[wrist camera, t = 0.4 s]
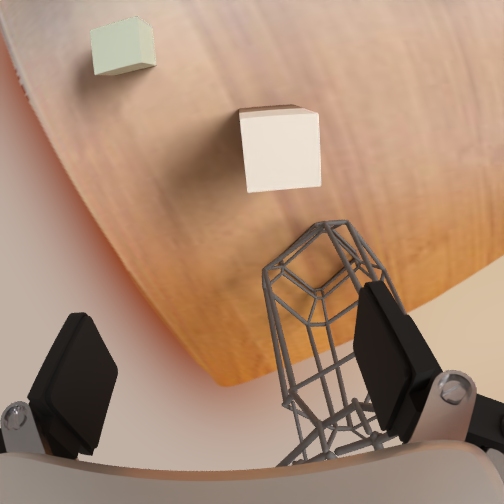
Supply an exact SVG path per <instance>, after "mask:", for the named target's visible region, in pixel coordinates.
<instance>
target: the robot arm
mask: <svg viewBox="0 0 504 504" xmlns="http://www.w3.org/2000/svg"><path fill="white" fill-rule="evenodd" d="M353 350H354V355H355V357H356V360H357V363H358V365H359V368H360V371H361V373H362V376H363V379H364V382H365V385H366V388H367V390H368V393H369V396H370V399H371V402H372V405H373V408H374V411H375V414H376V417H377V420H378V422H379V425H380V428H381V430H382V431H385V430H386V431H387V434H388V437H389V438H390V437H393V436H397V435H398V436H399V439H400V441H402V442H403V443H402V445H398V446H394V447H389V448H384V449H379V450H375V451H371V452H367V453H362V454H357V455H353V456H348V457H342V458H336V459H330V460H325V461H319V462H313V463H306V464H299V465H292V466H283V467H274V468H264V469H251V470H235V471H234V470H233V471H168V470H150V469H138V468H127V467H119V466H110V465H103V464H96V463H90V462H84V461H79V460H78V457H77V456H78V453H80V454H84V455H91V456H92V455H93V451H94V449H95V448H97V446H98V443H99V439H100V435H101V431H102V428H103V424H104V420H105V417H106V413H107V410H108V406H109V403H110V399H111V395H112V392H113V389H114V385H115V382H116V379H117V375H118V369H117V366H116V364H115V362H114V360H113V358H112V357H111V355H110V353H109V351H108V349H107V347H106V345H105V344H104V342H103V340H102V338H101V336H100V334H99V332H98V330H97V328H96V326H95V324H94V322H93V320H92V318H91V317H90V316H88V315H87V314H86V313H84V312H81V313H71V314H70V315H69V316H68V318H67V320H66V321H65V323H64V325H63V327H62V329H61V330H60V332H59V334H58V336H57V338H56V340H55V341H54V343H53V345H52V347H51V349H50V351H49V353H48V355H47V357H46V359H45V361H44V363H43V365H42V367H41V369H40V371H39V373H38V375H37V377H36V379H35V381H34V383H33V386H32V388H31V390H30V392H29V394H28V396H27V398H28V399H29V400H30V402H29V405H28V404H27V403H25V402H22V401H18V402H15V403H12V404H11V405H9V406H8V407H7V408H6V409H5V410H4V412H3V414H2V416H1V420H0V421H1V428H0V504H504V403H502V402H499V401H496V400H493V399H491V398H487V397H485V396H482V395H479V394H477V389H476V386H475V383H474V382H473V380H472V378H471V377H469V376H468V375H467V374H465V373H463V372H461V371H456V370H448V371H445V372H443V371H442V369H441V367H440V366H439V364H438V362H437V360H436V358H435V357H434V355H433V353H432V351H431V350H430V348H429V346H428V345H427V343H426V341H425V339H424V338H423V336H422V334H421V333H420V331H419V330H418V328H417V326H416V324H415V323H414V321H413V320H412V318H411V317H410V316H409V315H407V314H406V315H404V314H403V312H402V311H401V309H400V307H399V306H398V304H397V303H396V301H395V299H394V298H393V296H392V294H391V293H390V291H389V290H388V288H387V287H386V285H385V283H384V282H383V281H382V280H379V281H373V282H366V283H365V285H364V287H362V288H360V290H359V300H358V309H357V318H356V326H355V334H354V341H353Z"/></svg>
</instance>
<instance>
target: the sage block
mask: <svg viewBox="0 0 504 504" xmlns="http://www.w3.org/2000/svg"><path fill="white" fill-rule="evenodd" d="M90 36H91V47H92V57H93V66H94V74H95V75H119V74H123V73H127V72H131V71H135V70H139V69H143V68H148V67H152V66H157V65H156V57H155V48H154V39H153V29H152V26H151V25H150V24H148V23H147V22H145V21H144V20H142V19H141V18H139V17H138V16H136V17H132V18H128V19H125V20H121V21H118V22H115V23H111V24H108V25H105V26H102V27H99V28H96V29H93V30H90Z"/></svg>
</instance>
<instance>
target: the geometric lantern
mask: <svg viewBox="0 0 504 504" xmlns="http://www.w3.org/2000/svg"><path fill="white" fill-rule="evenodd" d="M318 225H319V226H318ZM331 225H334V226H333V227H331ZM341 225H346V226H347V228H348V230H349V232H350V234H351V236H352V238H353V240H354V242H355V244H356V246H357V248H358V250H359V252H360V255H361V257H362V259H363V261H361V260H360V258H359V256H358V255H357V253H356V250H355V249H354V248H353V247H352V246H351V245H350V244H349V243H348V242H347V241H345V240H344V239H343V238H342V237H341V236H340V235H339V234H338V233H337V232H336V231H335V230H334V229H335V228H337V227H339V226H341ZM314 228H315V229H314ZM324 228H325V230H323V229H324ZM313 229H314V230H313ZM312 230H313V231H312ZM316 233H317V234H316ZM322 233H327V234H328V236H329V237H330V239H331V241H332V243H333V245H334V247H335V249H336V251H337V253H338V255H339V257H340V258H341V260H342V262H343V264H344V266H345V267H344V268H343V269H342V270H341V271H340V272H339V273H338V274H337V275H335V276H334V277H333V278H332V279H331V280H330V281H329V282H327V283H326V284H325V285H324V286H323V287H322V288H318V289H313V288H311V287H310V286H309V285H308V284H306V283H305V282H304V281H303V280H301V279H300V278H299V277H298V276H296V275H295V274H294V273H293V272H291V271H290V270H289V269H288V268H286V267H285V266H286V265H287V264H288V263H290V262H291V261H292V260H293V259H294V258H295V257H296V256H297V255H298V254H300V253H301V252H302V251H303V250H304V249H305V248H306V247H307V246H308V245H309V244H311V243H312V242H313V241H314V240H315V239H316V238H317V237H318V236H319V235H320V234H322ZM333 233H334V234H335V235H336V236H337V237H338V238H340V239H341V240H342V241H343V242H344V243H345V244H346V245H347V246H348V247H349V248H350V249H351V250H352V251H353V252H354V254H353V253H352V252H351V251H350V250H349V249H348V248H347V247H346V246H345V245H344V244H343V243H342V242H341V241H340V240H339V239H338V238H337V237H335V236H334V234H333ZM315 234H316V235H315ZM314 235H315V236H314ZM312 236H314V237H313V238H312V239H310V238H311V237H312ZM309 239H310V240H309ZM307 240H309V241H308V242H307V243H306V244H305V245H304V246H303V247H302V248H301V249H300V250H298V251H297V252H296V253H295V254H294V255H293V256H292V257H291V258H290V259H288V260H287V261H286V262H285V263H283V258H285V257H286V256H287V255H289V254H290V253H291V252H293V251H294V250H295V249H297V248H298V247H299V246H301V245H302V244H303V243H305V242H306V241H307ZM339 244H340V245H341V246H342V247H343V248H344V249H345V250H346V251H347V252H348V253H349V254H350V255H351V256H353V257H354V259H353V260H352V261H351V262H350V263H349V262H348V260H347V258H346V256H345V254H344V252H343V250H342V249H341V247H340V245H339ZM361 244H362V245H363V247H364V248H365V249H366V251H367V252H368V253H369V254H370V256H371V257H372V258H373V260H374V261H375V262H376V264H377V265H378V266H377V265H374V264H371V263H370V261H369V259H368V257H367V255H366V253H365V251H364V249H363V247H362V245H361ZM279 261H280V266H274V265H275V264H277V263H278V262H279ZM357 261H358V262H357ZM354 262H355V264H356V268H355V269H354V270H353V269H352V267H351V265H352V264H353V263H354ZM361 264H364V265H366V268H367V270H368V272H369V273H368V272H367V271H365V270H364V269H363V268H362V267H361V266H360V265H361ZM373 267H374V268H377V269H381V270H382V274H381V278H380V280H382V281H383V282H384V278H386V281H387V283H388V285H389V287H390V289H391V291H392V293H393V296H394V298H395V300H396V302H397V304H398V306H399V307H400V309H401V311H402V312H403V314H404V315H406V314H407V313H406V311H405V309H404V306H403V304H402V302H401V300H400V298H399V296H398V294H397V292H396V290H395V287H394V285H393V283H392V281H391V279H390V277H389V275H388V273H387V271H386V269H385V268H384V266H383V265H382V263H381V262H380V261H379V259H378V258H377V257H376V255H375V254H374V253H373V251H372V250H371V249H370V247H369V246H368V245H367V243H366V242H365V241H364V240H363V238H362V237H361V236H360V234H359V233H358V232H357V230H356V229H355V228H354V227H353V225H352V224H351V223H350V222H349V221H348V220H334V221H322V222H318V223H315V224H314V225H313V226H312V227H311V228H310V229H309V230H308V231H307V232H306V233H304V234H303V235H302V236H301V237H300V238H299V239H298V240H297V241H296V242H295V243H294V244H293V245H292V246H291V247H290V248H289V249H288V250H286V251H285V252H284V253H283V254H281V255H280V256H279V257H277V258H276V259H275V260H273V261H272V262H271V263H269V264H268V265H267V266H265V267H264V268H263V269H262V287H263V292H264V297H265V302H266V308H267V313H268V319H269V325H270V330H271V336H272V341H273V347H274V353H275V358H276V364H277V369H278V375H279V380H280V386H281V392H282V397H283V403H282V406H283V407H285V408H287V409H289V410H291V411H293V413H294V417H295V422H296V426H297V430H298V435H299V439H300V444H299V445H298V446H297V447H296V448H295V449H294V450H293V451H292V452H291V453H290V454H289V455H288V456H287V457H286V458H285V459H283V460H282V461H281V462H280V463H279V464H278V465H277V466H276V467H283V466H288V465H289V464H290V463H291V462H292V461H293V460H294V459H295V458H296V457H297V456H298V455H299V454H301V453H303V457H304V460H302V459H300V460H298V461H297V462H296V461H293V462H292V465H299V464H306V463H313V462H319V461H324V460H326V459H327V460H330V459H336V458H337V457H336V456H335V454H336V455H338V456H339V455H342V454H346V453H349V452H352V451H355V450H358V449H361V448H364V447H367V446H370V445H372V446H373V447H374V450H379V449H384V447H383V444H382V443H384V442H386V441H388V440H391V439H393V438H395V437H397V436H398V435H397V436H393V437H390V438H389V437H388V434H387V432H386V433H384V434H382V433H378V432H376V431H374V432H372V430H371V427H370V425H369V422H371V421H373V420H375V419H377V417H376V415H375V416H373V417H371V418H369V419H368V420H367V419H366V417H365V415H364V413H363V411H368V412H375V411H374V408H373V405H372V403H368V402H369V400H370V396H369V393H368V394H367V396H366V398H365V401H364V403H363V402H358V400H357V398H353V399H352V403H351V404H350V405H348V402H347V397H346V393H345V388H344V384H343V381H342V376H341V371H340V367H339V366H340V365H342V364H344V363H345V362H347V361H349V360H350V359H352V358H353V357H355V355H354V352H353V353H351V354H349V355H348V356H346V357H344V358H343V359H341V360H339V361H338V359H337V355H336V351H335V347H334V343H333V339H332V335H331V330H330V326H329V324H331V323H332V322H334V321H335V320H336V319H338V318H339V317H341V316H342V315H344V314H345V313H347V312H348V311H350V310H351V309H352V308H354V307H355V306H357V305H358V300H359V299H358V300H357V301H356V302H354V303H353V304H351V305H350V306H348V307H347V308H346V309H344V310H343V311H341V312H340V313H338V314H337V315H336V316H334V317H333V318H331V319H330V320H328V317H327V312H326V307H325V302H324V299H325V298H326V297H327V296H328V295H329V294H330V293H332V292H333V291H334V290H335V289H336V288H337V287H339V286H340V285H341V284H342V283H343V282H344V281H346V280H347V279H348V278H349V277H350V278H351V280H352V283H353V285H354V287H355V289H356V291H357V293H358V295H359V290H360V288H362V287H361V285H360V283H359V281H358V279H357V277H356V275H355V272H356V271H357V270H358V269H360V270H361V271H362V272H364V273H365V274H366V275H367V276H368V277H370V278H371V279H372V281H379V280H378V278H377V276H376V274H375V272H374V269H373ZM279 268H281V273H279V274H278V275H277V276H276V277H275V278H274V279H273V280H272V281H270V280H269V276H268V272H267V270H272V269H279ZM284 270H286V271H287V272H288V273H289V274H291V275H292V276H293V277H295V278H296V279H297V280H298V281H300V282H301V283H302V284H303V285H305V286H306V287H307V288H309V289H310V290H311V291H312V292H313V293H314V294H312V293H311V292H310V291H308V290H307V289H306V288H304V287H303V286H302V285H300V284H299V283H298V282H296V281H295V280H293V279H292V278H291V277H289V276H288V275H287V274H285V273H284ZM345 270H347V272H348V275H347V276H346V277H345V278H344V279H343V280H341V281H340V282H339V283H338V284H337V285H336V286H335V287H333V288H332V289H331V290H330V291H329V292H328V293H326V294H325V295H324V292H323V289H324V288H326V287H327V286H328V285H329V284H330V283H331V282H332V281H334V280H335V279H336V278H337V277H338V276H339V275H340V274H342V273H343V272H344V271H345ZM282 275H283V276H285V277H286V278H287V279H289V280H290V281H292V282H293V283H294V284H296V285H297V286H298V287H300V288H301V289H302V290H304V291H305V292H307V293H308V294H309V295H311V296H312V297H313V298H315V299H314V303H313V306H312V309H311V312H310V315H309V318H308V321H306V320H305V319H303V318H302V317H301V316H300V315H299V314H298V313H296V312H295V311H294V310H293V309H292V308H291V307H289V306H288V305H287V304H286V303H285V302H284V301H282V300H281V299H280V298H279V297H278V296H276V295H275V294H274V293H273V291H272V287H271V284H273V283H274V282H275V281H276V280H277V279H278V278H279V277H280V276H282ZM316 291H321V294H322V297H317V294H316ZM317 299H321V300H322V305H323V310H324V315H325V320H326V322H323V323H310V321H311V318H312V314H313V311H314V308H315V305H316V302H317ZM275 300H276V301H277V302H278V303H279V304H281V305H282V306H283V307H284V308H285V309H287V310H288V311H289V312H290V313H291V314H293V315H294V316H295V317H296V318H297V319H299V320H300V321H301V322H302V323H303V324H305V325H306V328H307V332H308V335H309V339H310V343H311V346H312V350H313V354H314V357H315V361H316V365H317V368H318V372H319V373H317V374H315V375H314V376H312V377H310V378H308V379H306V380H305V381H303V382H301V383H299V384H297V385H296V383H295V379H294V375H293V371H292V366H291V362H290V358H289V354H288V350H287V346H286V342H285V338H284V334H283V330H282V327H281V323H280V319H279V315H278V311H277V307H276V303H275ZM272 313H273V314H272ZM273 317H274V319H273ZM274 321H275V324H274ZM275 326H276V329H275ZM318 326H326V330H327V335H328V339H329V343H330V348H331V352H332V356H333V360H334V364H333V365H331V366H329V367H328V368H326V369H324V370H322V366H321V363H320V359H319V355H318V352H317V349H316V345H315V342H314V338H313V335H312V332H311V328H310V327H318ZM276 330H277V334H278V338H279V343H280V347H281V351H282V355H283V360H284V364H285V368H286V372H287V377H288V381H289V385H290V389H289V390H288V391H287V385H286V380H285V375H284V370H283V365H282V360H281V355H280V349H279V344H278V339H277V334H276ZM334 369H336V374H337V378H338V383H339V387H340V392H341V396H342V401H343V406H344V408H343V409H342V410H340V411H339V412H337V413H334V409H333V405H332V401H331V398H330V394H329V391H328V387H327V383H326V380H325V376H324V375H325V374H327V373H328V372H330V371H332V370H334ZM318 378H320V379H321V383H322V387H323V391H324V394H325V398H326V402H327V406H328V410H329V413H330V417H329V418H327V419H326V420H324V421H320V420H318V418H317V417H316V416H315V415H314V414H313V412H312V411H311V410H310V409H309V407H308V406H307V405H306V404H305V403H304V401H303V400H302V399H301V398H300V397H299V395H298V394H297V389H299V388H301V387H303V386H305V385H307V384H308V383H310V382H312V381H314V380H316V379H318ZM288 392H289V395H288ZM293 399H294V400H295V402H296V403H297V404H298V405H299V407H300V408H301V409H302V411H303V412H302V411H300V410H298V409H296V406H295V402H294V401H292V400H293ZM290 403H291V404H292V406H290V405H289V404H290ZM355 410H356V412H357V414H358V416H359V419H360V421H361V423H360V424H358V425H356V426H354V427H353V424H352V420H351V415H350V413H352V412H353V411H355ZM297 414H299V415H301V416H303V417H305V418H307V419H309V420H310V421H311V422H312V424H313V425H314V426H315V427H316V428H315V429H314V430H313V431H312V432H311V433H310V434H309V435H308V436H307V437H306V438H305V439H304V440H303V437H302V433H301V428H300V424H299V419H298V415H297ZM345 416H346V420H347V425H348V426H338V425H337V421H338V420H340V419H342V418H344V417H345ZM331 425H333V426H331ZM361 426H363V427H364V430H365V432H366V434H368V435H370V437H368V438H366V437H364V436H363V435H361V434H359V433H358V432H357V431H355V429H357V428H359V427H361ZM325 428H329V429H331V430H333V431H332V433H331V435H330V437H329V440H328V442H326V438H325V434H324V429H325ZM337 431H352V432H353V433H355V434H356V435H358V436H359V437H361V438H362V440H359V441H356V442H354V443H350V444H347V445H344V446H341V447H338V448H336V449H335V451H334V452H335V454H334V453H333V452H331V451H329V449H330V446H331V444H332V442H333V440H334V438H335V435H336V433H337ZM318 436H319V439H320V443H321V447H322V451H323V453H320V454H318V455H317V456H315V457H313V458H311V459H309V460H308V459H307V454H306V450H305V449H306V448H307V447H308V446H309V445H310V444H311V443H312V442H313V441H314V440H315V439H316V438H317V437H318ZM292 465H291V466H292Z"/></svg>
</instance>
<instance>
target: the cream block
mask: <svg viewBox="0 0 504 504" xmlns="http://www.w3.org/2000/svg"><path fill="white" fill-rule="evenodd" d="M239 116H240V126H241V136H242V145H243V154H244V164H245V173H246V183H247V192H248V193H251V192H261V191H271V190H282V189H293V188H305V187H318V186H321V160H320V134H319V115H318V113H316V112H313V111H310V110H307V109H304V108H295V109H278V110H265V111H253V112H243V113H239Z"/></svg>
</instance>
